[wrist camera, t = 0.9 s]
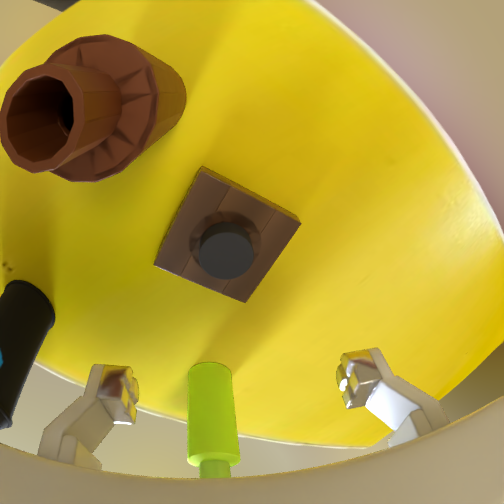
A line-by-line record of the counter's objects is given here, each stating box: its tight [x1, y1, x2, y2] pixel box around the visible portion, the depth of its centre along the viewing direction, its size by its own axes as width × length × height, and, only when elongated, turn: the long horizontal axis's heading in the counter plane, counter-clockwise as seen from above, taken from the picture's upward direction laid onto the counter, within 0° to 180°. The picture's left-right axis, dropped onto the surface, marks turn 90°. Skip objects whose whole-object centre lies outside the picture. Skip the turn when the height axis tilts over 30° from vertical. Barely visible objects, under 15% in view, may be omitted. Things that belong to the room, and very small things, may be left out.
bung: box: [199, 222, 254, 280], centre depth 27 cm, size 5×5×4 cm
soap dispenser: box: [187, 362, 240, 478], centre depth 30 cm, size 6×7×20 cm
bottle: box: [0, 34, 186, 182], centre depth 14 cm, size 7×7×17 cm
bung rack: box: [154, 166, 301, 303], centre depth 28 cm, size 10×10×2 cm
